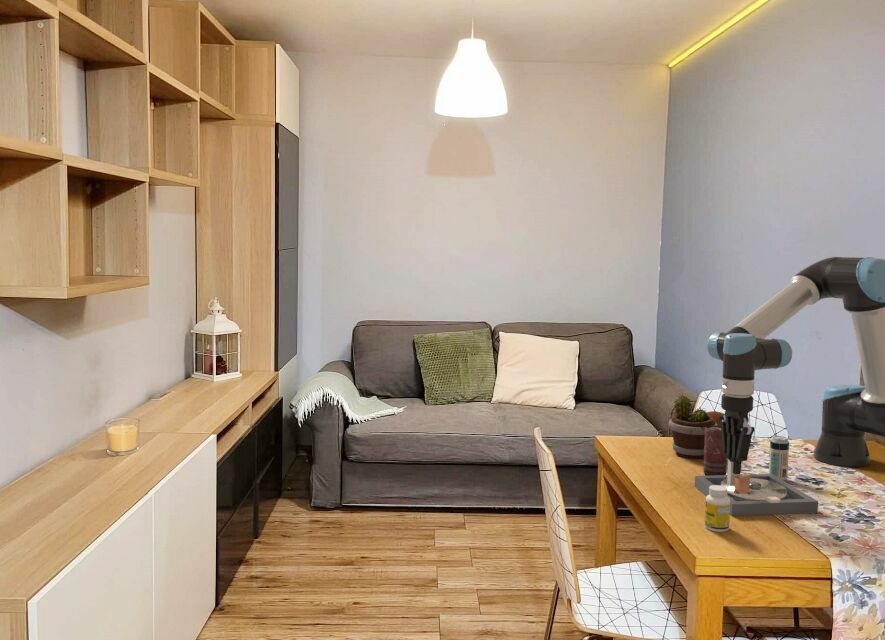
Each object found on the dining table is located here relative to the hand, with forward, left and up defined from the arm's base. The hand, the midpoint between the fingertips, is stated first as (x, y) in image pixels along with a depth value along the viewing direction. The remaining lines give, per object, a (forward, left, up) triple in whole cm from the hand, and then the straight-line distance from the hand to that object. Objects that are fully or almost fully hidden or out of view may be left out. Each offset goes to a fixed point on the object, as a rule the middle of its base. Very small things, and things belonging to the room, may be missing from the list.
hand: (733, 484), depth 192 cm
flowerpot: (-7, -43, -5) cm, 44 cm away
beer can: (-21, -17, -5) cm, 27 cm away
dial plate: (-6, -2, -5) cm, 8 cm away
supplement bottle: (+12, +16, -5) cm, 21 cm away
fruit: (-22, -59, -5) cm, 63 cm away
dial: (-6, -2, -3) cm, 7 cm away
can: (-5, -22, -5) cm, 23 cm away
